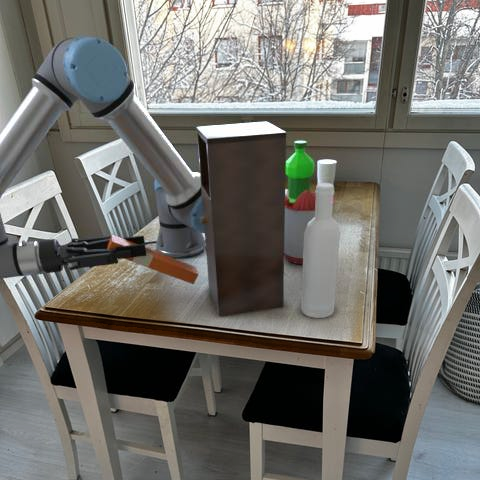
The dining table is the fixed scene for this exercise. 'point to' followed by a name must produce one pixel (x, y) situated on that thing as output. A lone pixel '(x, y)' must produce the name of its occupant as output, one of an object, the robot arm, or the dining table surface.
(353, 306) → the dining table surface
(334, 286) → the bottle
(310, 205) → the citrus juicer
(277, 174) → the cupboard
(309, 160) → the plastic bottle
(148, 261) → the block
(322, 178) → the white cup
